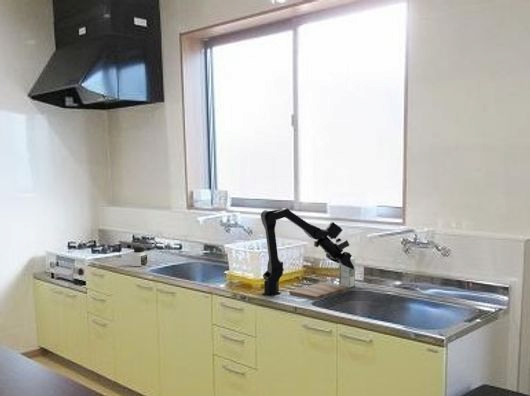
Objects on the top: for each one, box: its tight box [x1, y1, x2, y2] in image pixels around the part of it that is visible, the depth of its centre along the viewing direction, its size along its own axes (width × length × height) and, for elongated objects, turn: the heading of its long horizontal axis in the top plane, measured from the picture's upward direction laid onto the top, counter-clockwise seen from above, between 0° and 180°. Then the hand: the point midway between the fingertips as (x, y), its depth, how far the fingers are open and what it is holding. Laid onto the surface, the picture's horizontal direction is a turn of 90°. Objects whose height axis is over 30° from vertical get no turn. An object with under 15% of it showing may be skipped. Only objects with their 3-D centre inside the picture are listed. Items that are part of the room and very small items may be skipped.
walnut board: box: [289, 281, 349, 301], centre depth 253 cm, size 24×16×2 cm, turn 134°
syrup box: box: [338, 256, 356, 289], centre depth 262 cm, size 6×6×14 cm
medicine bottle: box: [130, 245, 148, 267], centre depth 329 cm, size 7×7×12 cm
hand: (349, 266), depth 263 cm, fingers open, 9 cm apart
